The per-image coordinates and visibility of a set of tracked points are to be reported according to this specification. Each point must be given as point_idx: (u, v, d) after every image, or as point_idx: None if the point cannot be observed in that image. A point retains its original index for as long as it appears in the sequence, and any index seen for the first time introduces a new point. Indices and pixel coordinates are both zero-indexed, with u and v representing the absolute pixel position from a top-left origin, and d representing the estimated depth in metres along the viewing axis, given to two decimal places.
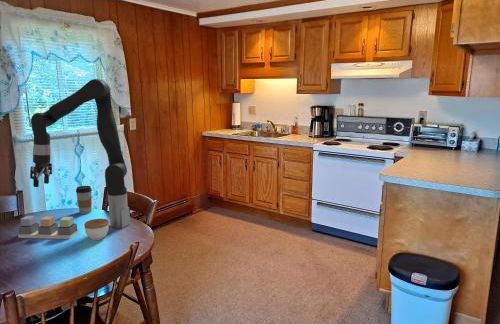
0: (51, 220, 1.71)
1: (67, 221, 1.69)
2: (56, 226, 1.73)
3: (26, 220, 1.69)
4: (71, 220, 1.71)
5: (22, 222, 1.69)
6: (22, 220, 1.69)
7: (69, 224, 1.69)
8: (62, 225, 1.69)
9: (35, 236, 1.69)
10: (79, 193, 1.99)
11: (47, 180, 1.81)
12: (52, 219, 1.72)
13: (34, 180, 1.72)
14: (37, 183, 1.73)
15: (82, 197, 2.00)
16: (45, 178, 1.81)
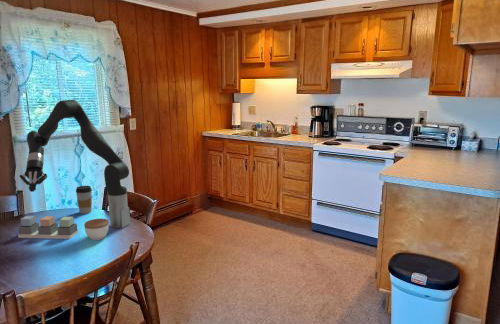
0: (51, 220, 1.71)
1: (67, 221, 1.69)
2: (56, 226, 1.73)
3: (26, 220, 1.69)
4: (71, 220, 1.71)
5: (22, 222, 1.69)
6: (22, 220, 1.69)
7: (69, 224, 1.69)
8: (62, 225, 1.69)
9: (35, 236, 1.69)
10: (79, 193, 1.99)
11: None
12: (52, 219, 1.72)
13: None
14: (30, 187, 1.81)
15: (82, 197, 2.00)
16: None
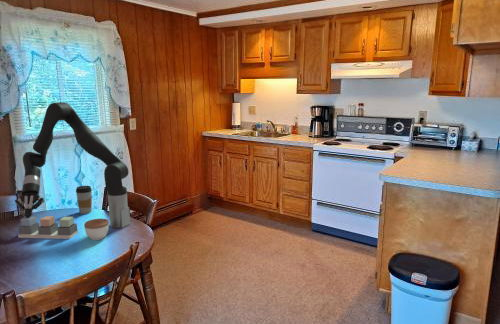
0: (51, 220, 1.71)
1: (67, 221, 1.69)
2: (56, 226, 1.73)
3: (26, 220, 1.69)
4: (71, 220, 1.71)
5: (22, 222, 1.69)
6: (22, 220, 1.69)
7: (69, 224, 1.69)
8: (62, 225, 1.69)
9: (35, 236, 1.69)
10: (79, 193, 1.99)
11: None
12: (52, 219, 1.72)
13: (25, 210, 1.73)
14: (26, 212, 1.71)
15: (82, 197, 2.00)
16: None
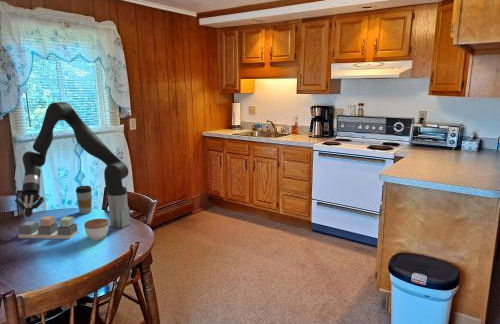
0: (51, 220, 1.71)
1: (67, 221, 1.69)
2: (56, 226, 1.73)
3: (27, 226, 1.70)
4: (71, 220, 1.71)
5: None
6: (23, 226, 1.70)
7: (69, 224, 1.69)
8: (62, 225, 1.69)
9: (35, 236, 1.69)
10: (79, 193, 1.99)
11: None
12: (52, 219, 1.72)
13: (25, 210, 1.72)
14: (26, 212, 1.71)
15: (82, 197, 2.00)
16: None
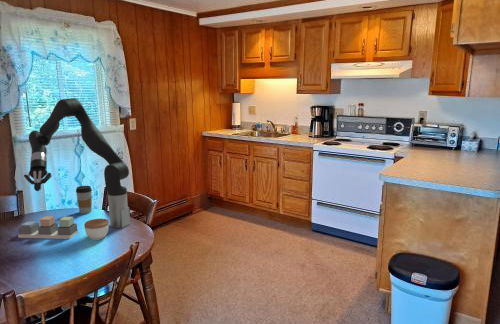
0: (51, 220, 1.71)
1: (67, 221, 1.69)
2: (56, 226, 1.73)
3: (27, 226, 1.70)
4: (71, 220, 1.71)
5: None
6: (23, 226, 1.70)
7: (69, 224, 1.69)
8: (62, 225, 1.69)
9: (35, 236, 1.69)
10: (79, 193, 1.99)
11: None
12: (52, 219, 1.72)
13: (34, 185, 1.82)
14: (35, 186, 1.81)
15: (82, 197, 2.00)
16: None
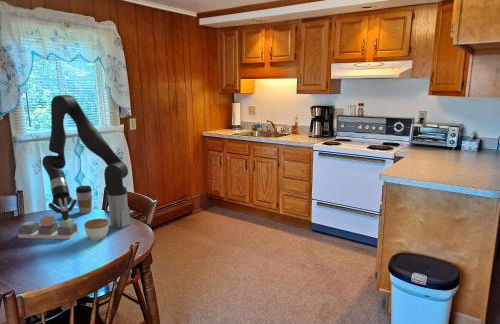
0: (51, 220, 1.71)
1: (67, 223, 1.69)
2: (56, 226, 1.73)
3: (27, 226, 1.70)
4: (71, 222, 1.71)
5: None
6: (23, 226, 1.70)
7: (69, 226, 1.70)
8: (62, 227, 1.69)
9: (35, 236, 1.69)
10: (79, 193, 1.99)
11: (65, 215, 1.71)
12: (52, 219, 1.72)
13: (61, 213, 1.71)
14: (63, 215, 1.70)
15: (82, 197, 2.00)
16: None
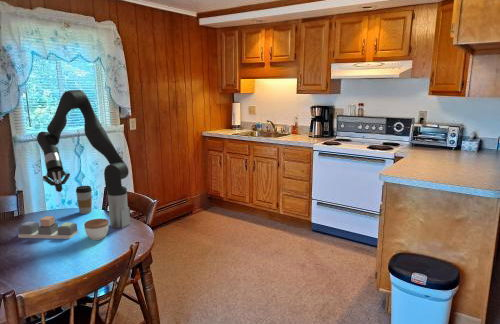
0: (51, 220, 1.71)
1: (68, 227, 1.69)
2: (56, 226, 1.73)
3: (27, 226, 1.70)
4: None
5: None
6: (23, 226, 1.70)
7: None
8: None
9: (35, 236, 1.69)
10: (79, 193, 1.99)
11: (59, 187, 1.79)
12: (52, 219, 1.72)
13: (55, 186, 1.79)
14: (57, 187, 1.78)
15: (82, 197, 2.00)
16: None
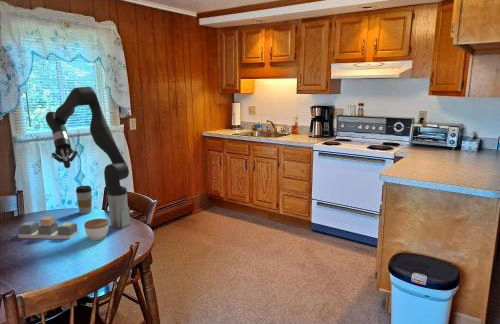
0: (51, 220, 1.71)
1: (68, 227, 1.69)
2: (56, 226, 1.73)
3: (27, 226, 1.70)
4: None
5: None
6: (23, 226, 1.70)
7: None
8: None
9: (35, 236, 1.69)
10: (79, 193, 1.99)
11: None
12: (52, 219, 1.72)
13: (63, 162, 1.85)
14: (65, 163, 1.84)
15: (82, 197, 2.00)
16: None
